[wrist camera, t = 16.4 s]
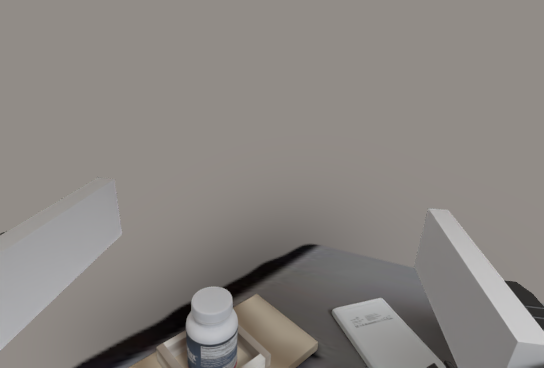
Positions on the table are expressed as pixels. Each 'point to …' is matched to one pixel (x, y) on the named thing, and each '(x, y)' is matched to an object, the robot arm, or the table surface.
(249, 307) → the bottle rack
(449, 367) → the phone stand
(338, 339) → the table surface
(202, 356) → the pill bottle
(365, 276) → the table surface
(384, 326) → the external hard drive
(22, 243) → the robot arm
